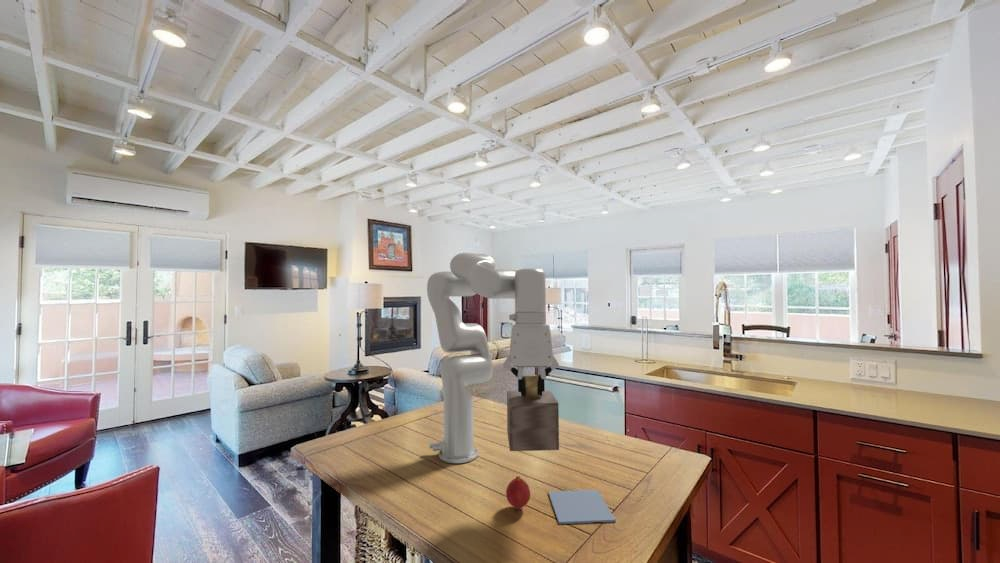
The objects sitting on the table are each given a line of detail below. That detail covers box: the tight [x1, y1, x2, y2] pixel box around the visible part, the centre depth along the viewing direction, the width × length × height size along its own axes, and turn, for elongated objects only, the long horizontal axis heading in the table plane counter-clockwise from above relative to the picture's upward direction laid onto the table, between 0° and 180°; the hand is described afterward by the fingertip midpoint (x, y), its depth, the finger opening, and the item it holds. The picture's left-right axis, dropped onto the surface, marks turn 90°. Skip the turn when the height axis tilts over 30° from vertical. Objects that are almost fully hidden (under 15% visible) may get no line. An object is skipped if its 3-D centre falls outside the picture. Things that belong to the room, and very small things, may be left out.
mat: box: [547, 489, 616, 525], centre depth 91 cm, size 13×13×1 cm
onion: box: [505, 475, 531, 511], centre depth 90 cm, size 6×6×8 cm
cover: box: [506, 374, 560, 452], centre depth 91 cm, size 11×11×16 cm
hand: (531, 393), depth 91 cm, fingers closed on cover, 3 cm apart
